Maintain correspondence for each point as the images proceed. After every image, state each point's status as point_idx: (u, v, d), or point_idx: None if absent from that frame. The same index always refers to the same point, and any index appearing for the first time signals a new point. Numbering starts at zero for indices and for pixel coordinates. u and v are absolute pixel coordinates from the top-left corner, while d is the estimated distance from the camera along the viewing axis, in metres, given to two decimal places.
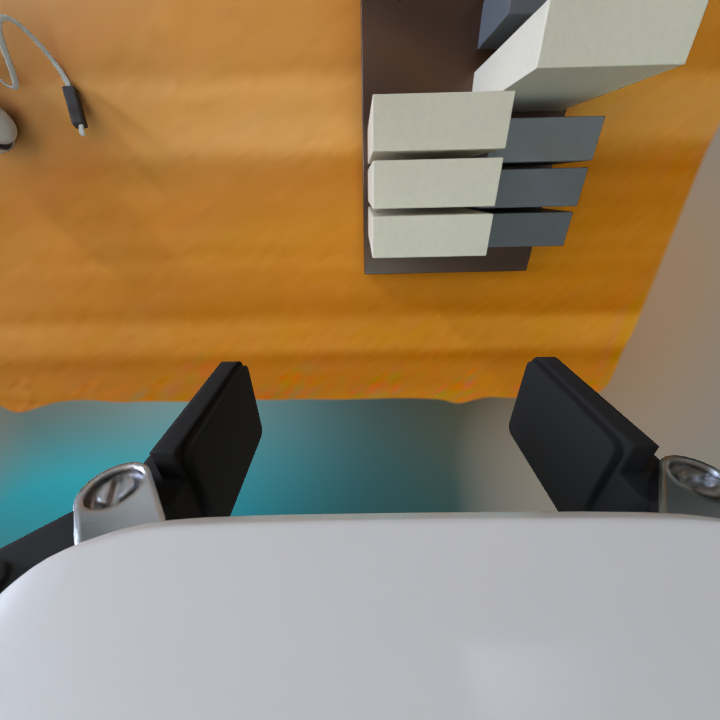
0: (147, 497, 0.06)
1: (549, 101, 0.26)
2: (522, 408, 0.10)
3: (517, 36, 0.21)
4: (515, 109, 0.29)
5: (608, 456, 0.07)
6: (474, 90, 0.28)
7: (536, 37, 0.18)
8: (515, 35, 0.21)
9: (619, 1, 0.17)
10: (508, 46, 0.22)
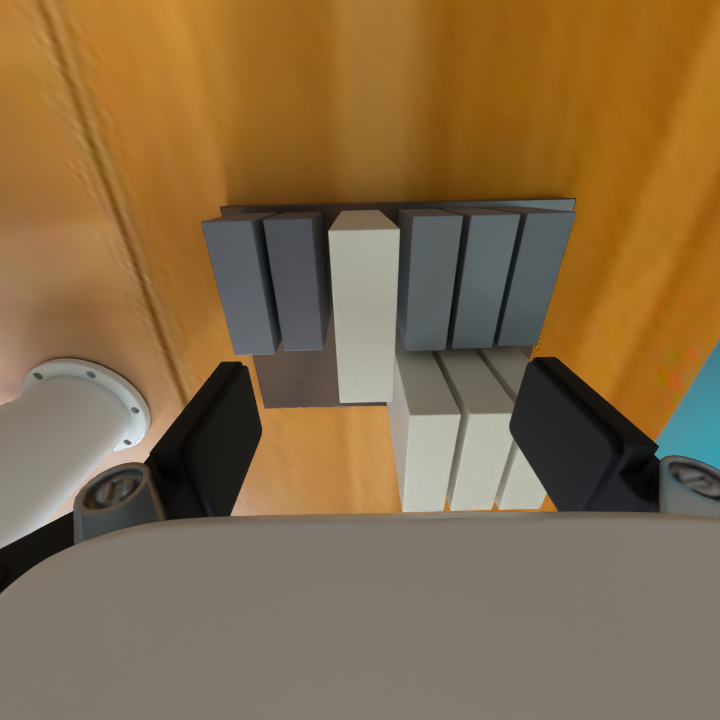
0: (148, 497, 0.06)
1: None
2: (522, 408, 0.10)
3: None
4: None
5: (608, 456, 0.07)
6: None
7: None
8: None
9: (340, 339, 0.15)
10: None
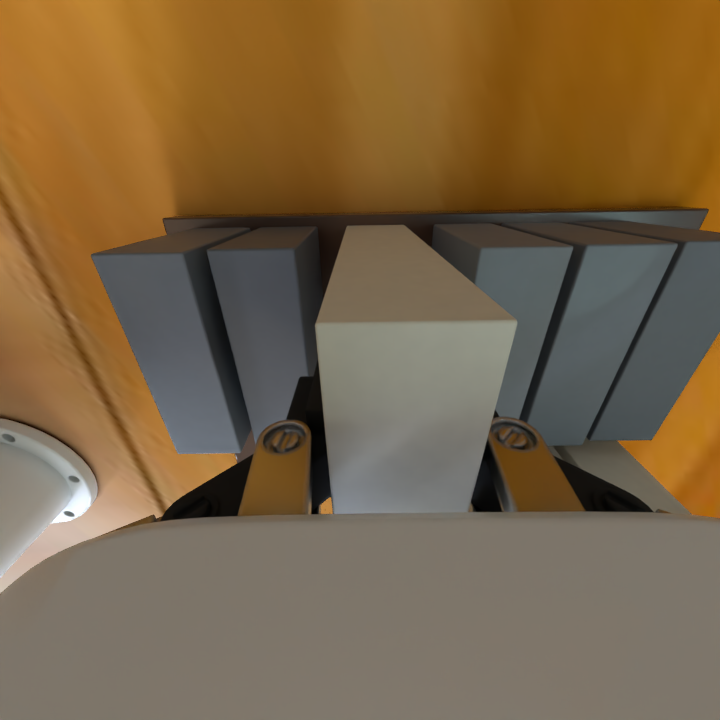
0: (303, 458, 0.06)
1: None
2: None
3: None
4: None
5: None
6: None
7: None
8: None
9: None
10: None
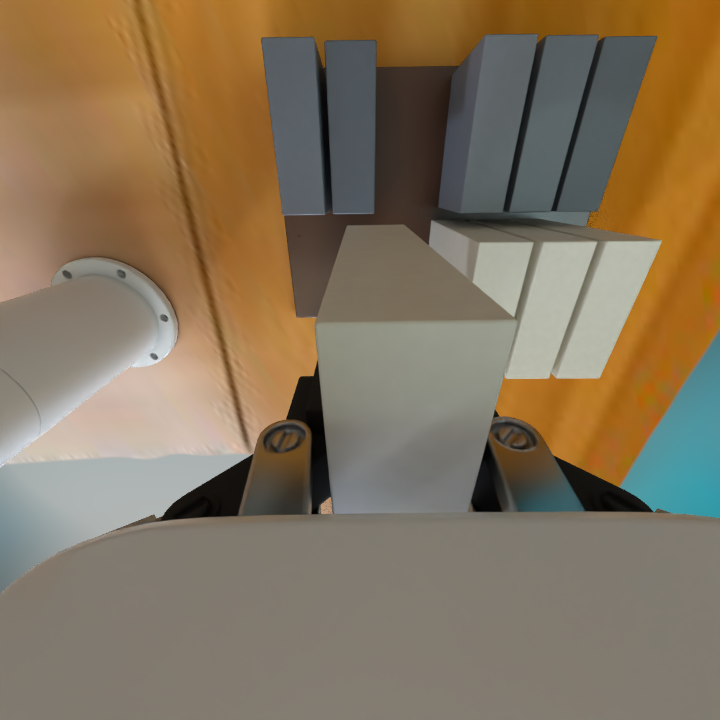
0: (303, 458, 0.06)
1: None
2: None
3: None
4: None
5: None
6: None
7: None
8: None
9: None
10: None
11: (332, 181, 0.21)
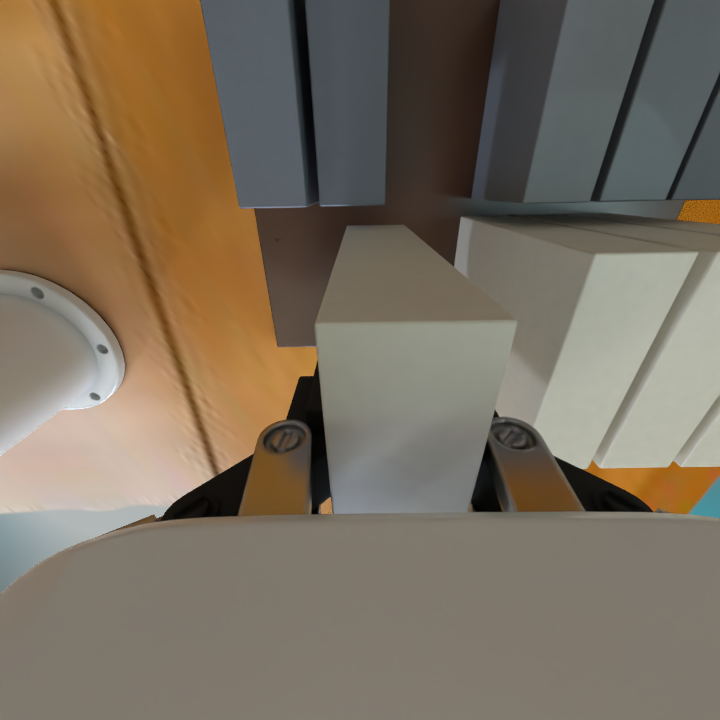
0: (303, 458, 0.06)
1: None
2: None
3: None
4: None
5: None
6: None
7: None
8: None
9: None
10: None
11: (317, 152, 0.13)
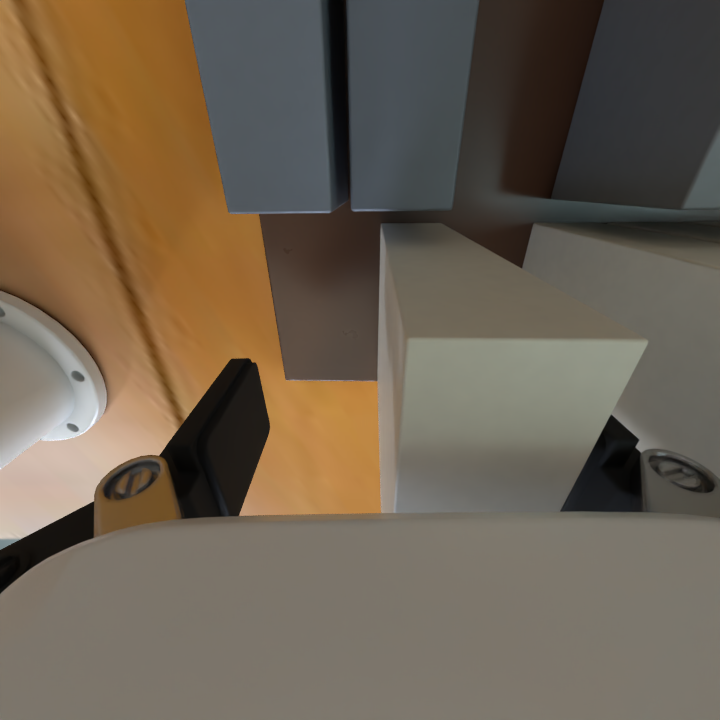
0: (164, 490, 0.06)
1: None
2: None
3: None
4: None
5: None
6: None
7: None
8: None
9: None
10: None
11: (352, 125, 0.08)
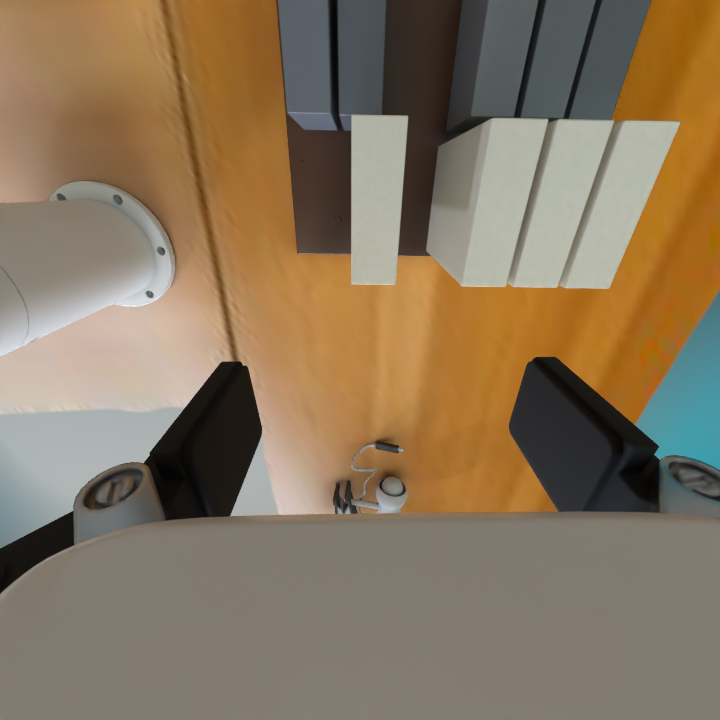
0: (148, 497, 0.06)
1: None
2: (522, 408, 0.10)
3: None
4: None
5: (608, 456, 0.07)
6: None
7: None
8: None
9: (355, 219, 0.18)
10: None
11: (339, 76, 0.20)
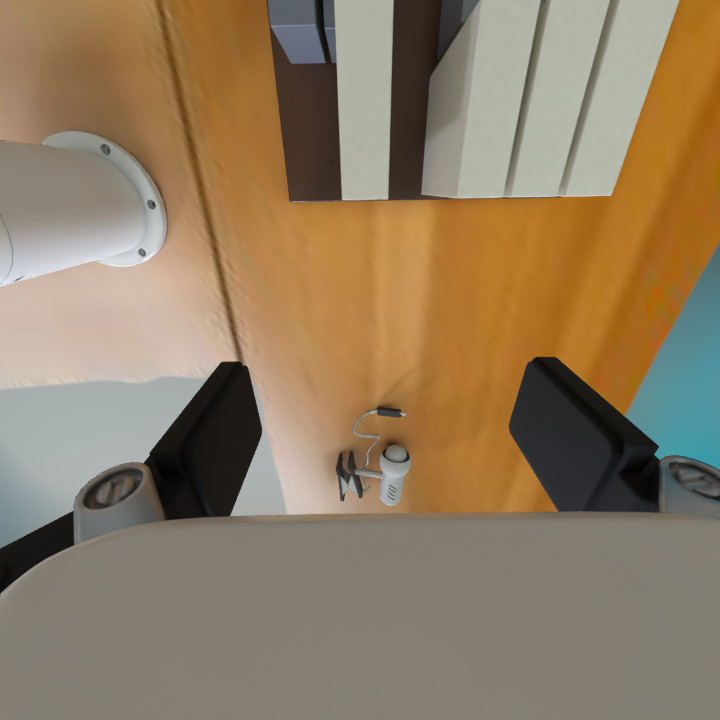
0: (148, 497, 0.06)
1: None
2: (522, 408, 0.10)
3: None
4: None
5: (608, 456, 0.07)
6: None
7: None
8: None
9: (343, 123, 0.18)
10: None
11: None
